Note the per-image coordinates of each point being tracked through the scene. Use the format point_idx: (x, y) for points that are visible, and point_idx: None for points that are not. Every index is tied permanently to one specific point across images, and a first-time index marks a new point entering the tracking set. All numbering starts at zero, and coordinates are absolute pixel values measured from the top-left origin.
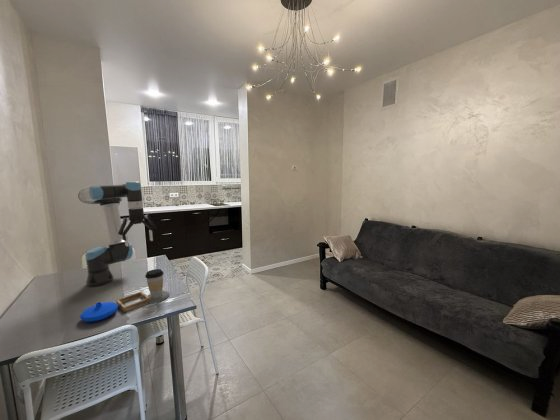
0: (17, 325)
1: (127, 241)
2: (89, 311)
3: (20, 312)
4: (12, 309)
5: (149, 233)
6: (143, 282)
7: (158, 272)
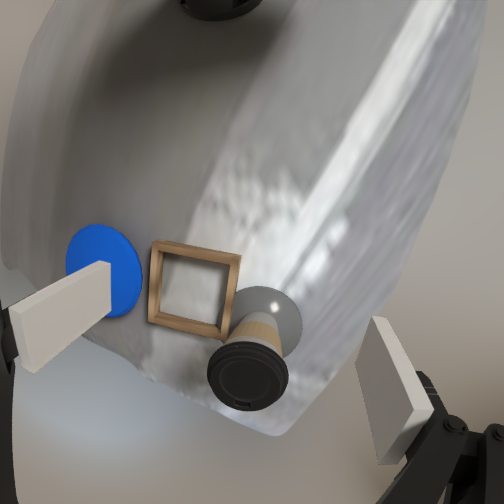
0: (18, 132)
1: (78, 331)
2: (76, 271)
3: (39, 59)
4: (42, 29)
5: (393, 379)
6: (317, 136)
7: (249, 408)
